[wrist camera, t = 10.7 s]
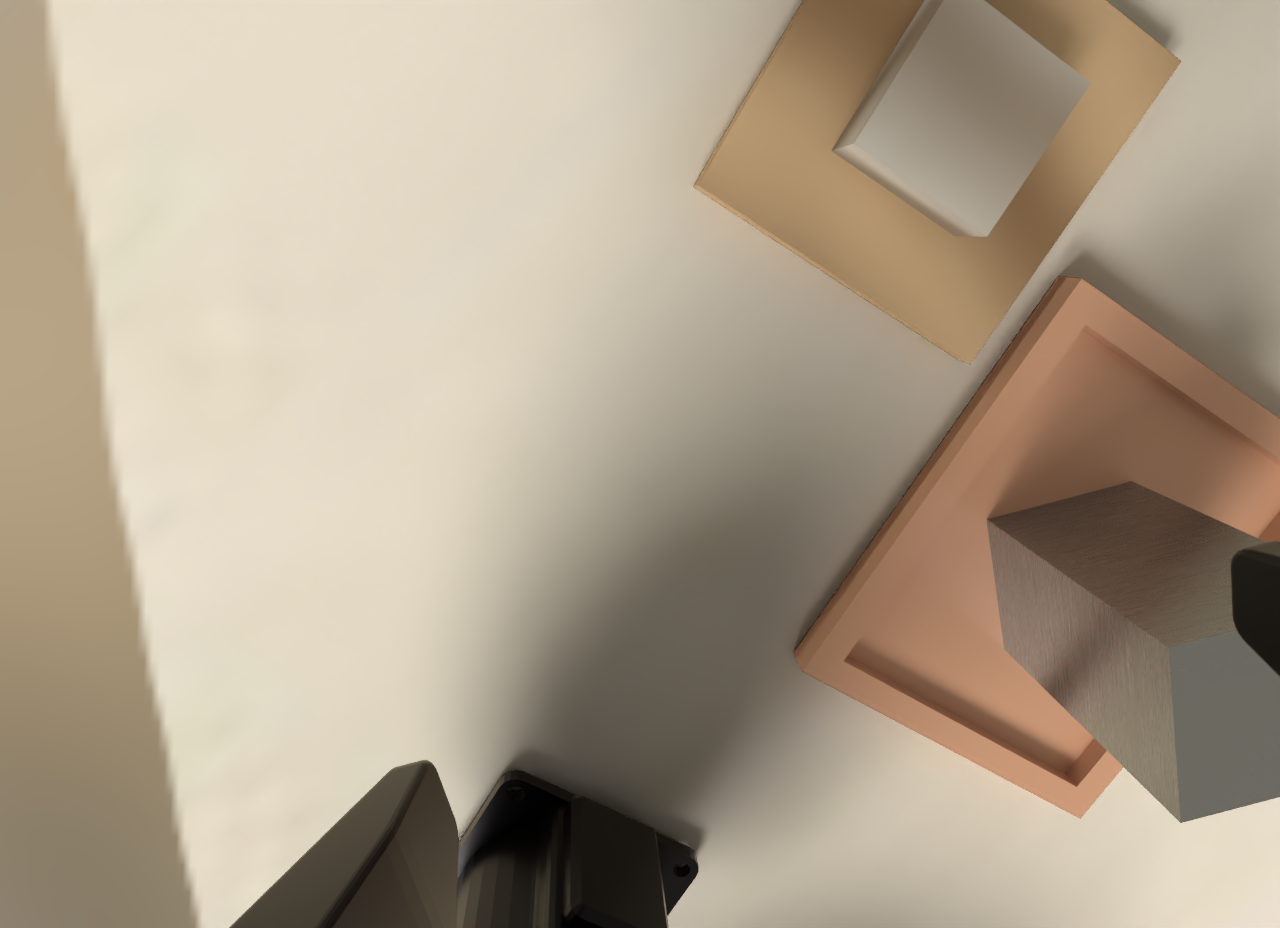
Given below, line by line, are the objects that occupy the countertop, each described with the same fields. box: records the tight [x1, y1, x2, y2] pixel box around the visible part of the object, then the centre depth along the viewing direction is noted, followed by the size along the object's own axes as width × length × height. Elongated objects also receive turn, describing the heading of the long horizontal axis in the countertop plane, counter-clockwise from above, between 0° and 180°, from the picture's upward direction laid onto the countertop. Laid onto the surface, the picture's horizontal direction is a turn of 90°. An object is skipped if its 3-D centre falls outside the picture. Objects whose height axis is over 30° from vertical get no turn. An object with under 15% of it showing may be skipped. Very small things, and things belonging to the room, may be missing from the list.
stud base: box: [693, 0, 1181, 364], centre depth 18 cm, size 8×8×2 cm
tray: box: [793, 276, 1280, 818], centre depth 22 cm, size 12×10×1 cm
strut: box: [987, 481, 1280, 823], centre depth 19 cm, size 4×4×7 cm
